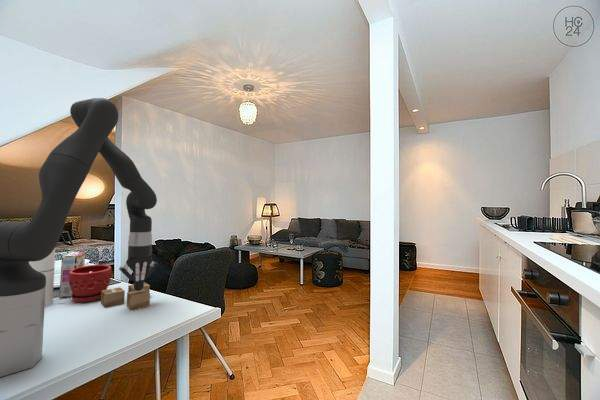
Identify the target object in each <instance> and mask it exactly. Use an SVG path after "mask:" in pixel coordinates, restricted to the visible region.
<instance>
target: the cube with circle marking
mask: <svg viewBox="0 0 600 400" xmlns="http://www.w3.org/2000/svg"><path fill="white" fill-rule="evenodd" d="M127 286H128V287H127V289H128V290H127V293H128V292H133V291H136V290H135V289H134V283H132V284H128V285H127ZM150 288H151V285H150V284H148V283H146V282H145V281H144V286H143V288H142V290H144V289H145V290H147V291H148V292H149V293H150V292H151V291H150Z"/></svg>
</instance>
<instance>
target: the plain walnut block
mask: <svg viewBox="0 0 600 400" xmlns="http://www.w3.org/2000/svg"><path fill="white" fill-rule="evenodd" d="M150 303H151V293H150V292H148V291H147V290H145V289H144V290H140V291H133V292H128V291H127V292H126V307H127V309H129V310H130V311H131V310H132V311H135V309H136V310H140V309H139V308H141V309H145V308H148V306H149V307H150V305H151V304H150ZM144 307H145V308H144Z"/></svg>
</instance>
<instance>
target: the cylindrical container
mask: <svg viewBox="0 0 600 400" xmlns="http://www.w3.org/2000/svg"><path fill="white" fill-rule="evenodd" d="M55 259H56V247H55V248H54V250H53V251H52V253H51V254H50V255H49V256H47V257H46V258H44V259H43V260H40V261H29V264H30V266H31V267H32V268H33V269H35V270H36V271H38V272H40V273H42V274H44V275H45V277H46V290H45V307H48V306H50V305H53V301H54V300H53V299H54V284H55V283H54V282H55V266H56V265H55V264H56V263H55V261H56V260H55Z"/></svg>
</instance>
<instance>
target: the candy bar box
mask: <svg viewBox="0 0 600 400" xmlns="http://www.w3.org/2000/svg"><path fill="white" fill-rule="evenodd" d="M85 260H86V251H71V252H69V253H67V254H64V255H63V256H61V267H60V279H59V280H60V281H59V297H58V298H59V299H62V298H71V296H72V295H73V293H72V291H71V289H70V285H69V271H71V270H72V269H75V268H78V267H83V266H85ZM77 282H78V281H77Z"/></svg>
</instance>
